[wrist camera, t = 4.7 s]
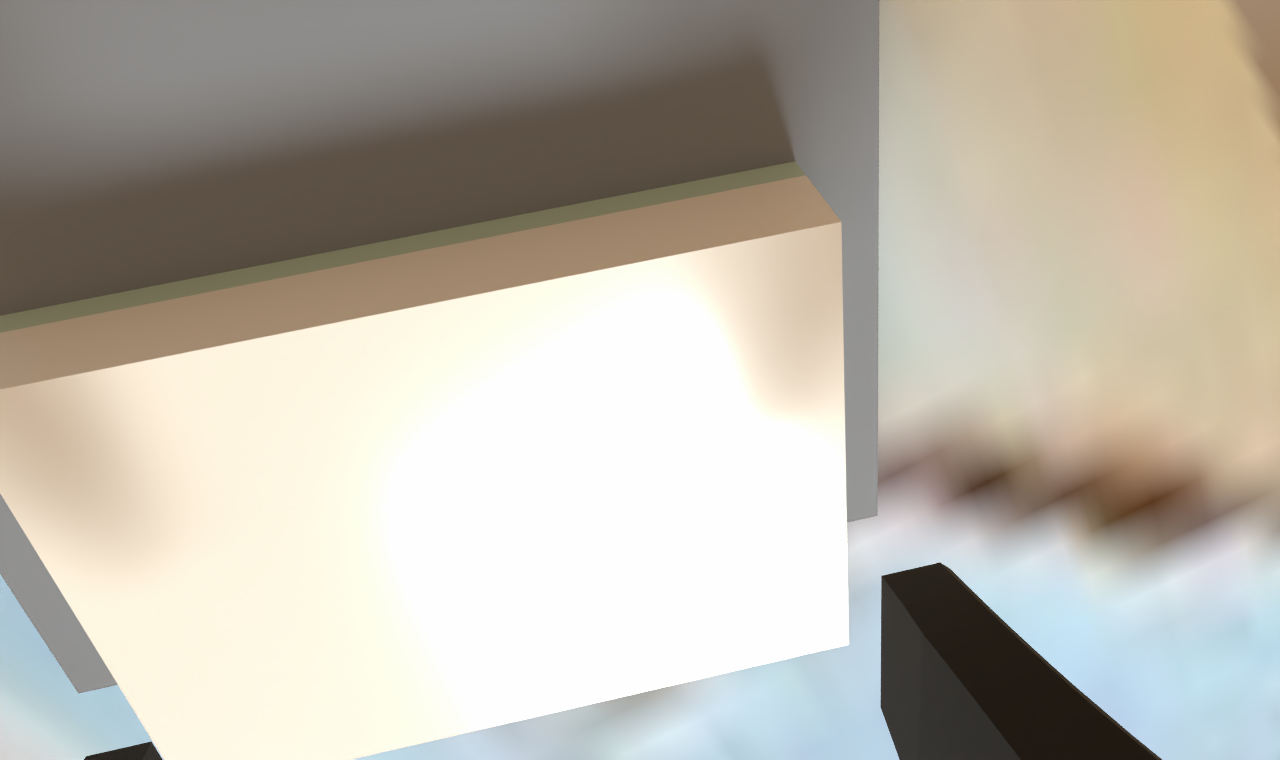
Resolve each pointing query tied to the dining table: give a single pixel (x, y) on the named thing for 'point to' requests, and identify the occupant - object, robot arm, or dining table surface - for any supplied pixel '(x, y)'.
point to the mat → (404, 148)
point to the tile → (447, 470)
